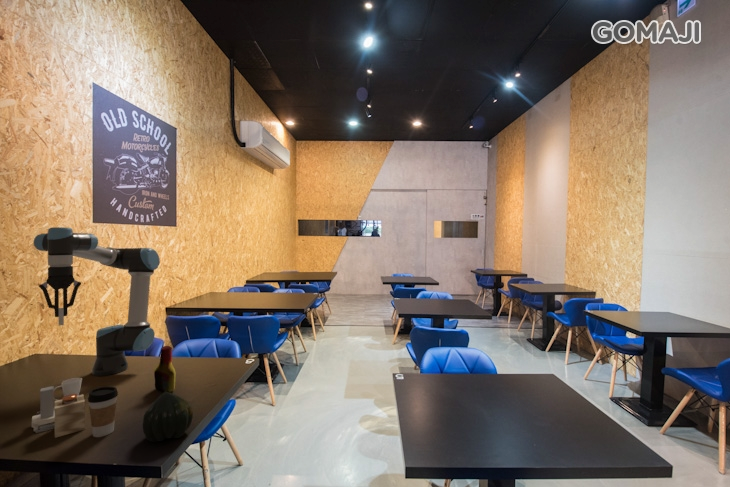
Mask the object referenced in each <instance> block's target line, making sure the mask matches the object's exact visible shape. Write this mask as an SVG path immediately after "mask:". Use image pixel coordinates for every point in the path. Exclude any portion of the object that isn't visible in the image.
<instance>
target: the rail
mask: <svg viewBox="0 0 730 487" xmlns="http://www.w3.org/2000/svg"><path fill="white" fill-rule="evenodd" d="M54 411H55V407H54ZM39 414H41V413H40V411H37V412H36V415H39ZM53 429H54V430H55V422H51V423H48V424H44V425H40V426H39V428H38V430H35V431H34V432H35V434H38V433H42V432H45V431H49V430H53Z"/></svg>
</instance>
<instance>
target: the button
mask: <svg viewBox="0 0 730 487" xmlns="http://www.w3.org/2000/svg"><path fill="white" fill-rule="evenodd" d="M75 398H77V394H70V395H66V396H64V395H63V396H62V397H61V399H62V401H64V404H68V403H72V402H75Z"/></svg>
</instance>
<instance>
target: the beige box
mask: <svg viewBox="0 0 730 487" xmlns="http://www.w3.org/2000/svg"><path fill="white" fill-rule="evenodd" d="M84 396H85V395H84V394H83V393H82V394H79V395H78V396H77V398H75V402H72V403H68V404H64V401H62V398H61V399H58V400H54V408H55V428H54V439H56V438H59V437H63V436H66V435H69V434H70V435H71V434H73V433H77V432H80V431H83V430H84V431H85V430H86V405H85V404H86V403H85V402H86V401H85V397H84Z"/></svg>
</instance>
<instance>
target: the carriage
mask: <svg viewBox="0 0 730 487" xmlns="http://www.w3.org/2000/svg"><path fill="white" fill-rule="evenodd" d="M54 388H55V387H54V385H52V386H46V387H42V388H40V394H39V395H40V401H39V402H40V405H39V406H40V409H39V410H40V413H41V414H39V415H37V414H36V415H32V418H31V428H33V432H35V430H38V429H39V426H40V425H44V424H48V423H51V422H55V411H54V408H55V400H54V398H55V396H54V392H55V390H54Z"/></svg>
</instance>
